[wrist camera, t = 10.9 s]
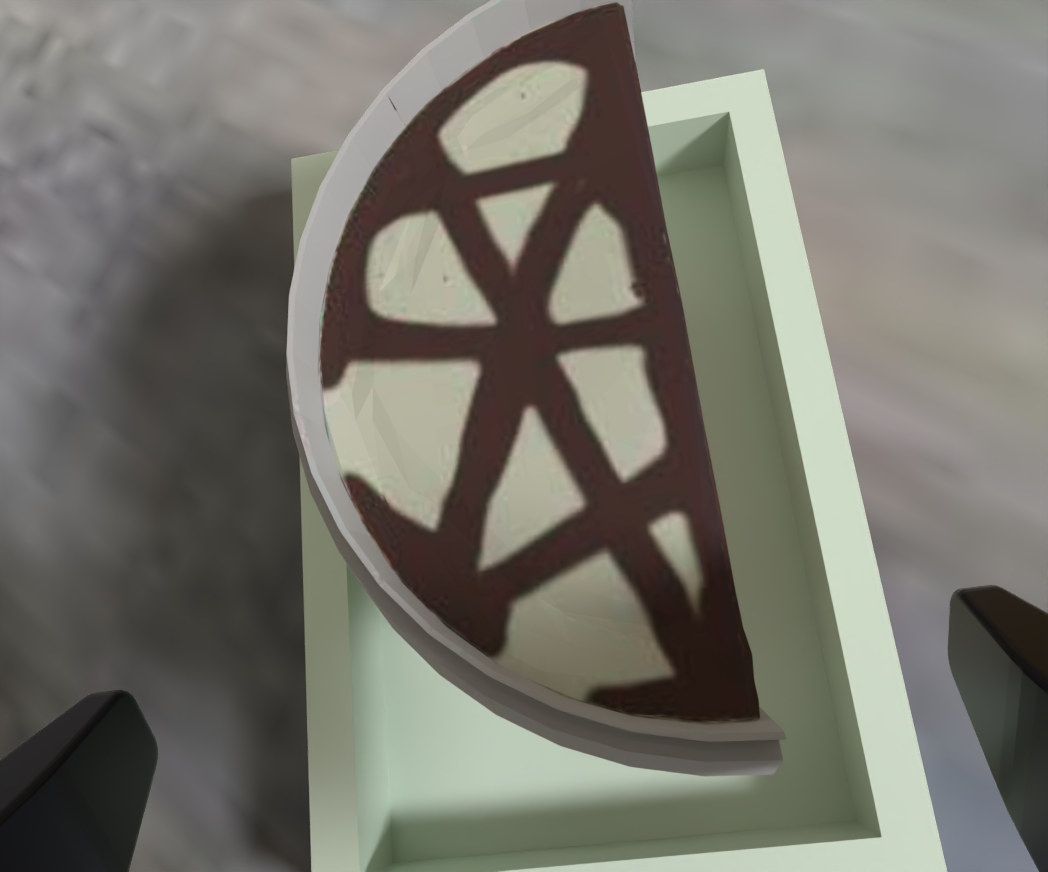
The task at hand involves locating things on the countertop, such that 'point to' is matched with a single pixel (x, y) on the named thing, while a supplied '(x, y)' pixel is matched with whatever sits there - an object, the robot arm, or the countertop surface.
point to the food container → (524, 396)
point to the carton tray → (759, 577)
